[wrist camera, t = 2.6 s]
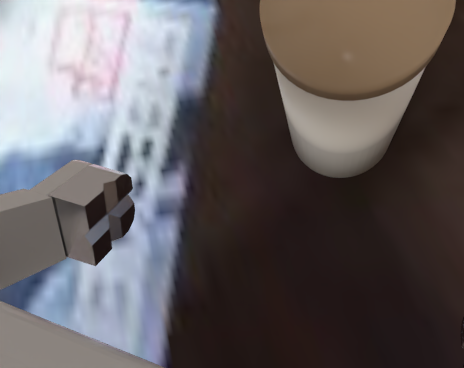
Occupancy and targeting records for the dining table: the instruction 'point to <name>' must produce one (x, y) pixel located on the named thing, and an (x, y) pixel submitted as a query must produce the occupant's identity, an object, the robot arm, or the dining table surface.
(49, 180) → the robot arm
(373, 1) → the canister
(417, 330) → the dining table surface
